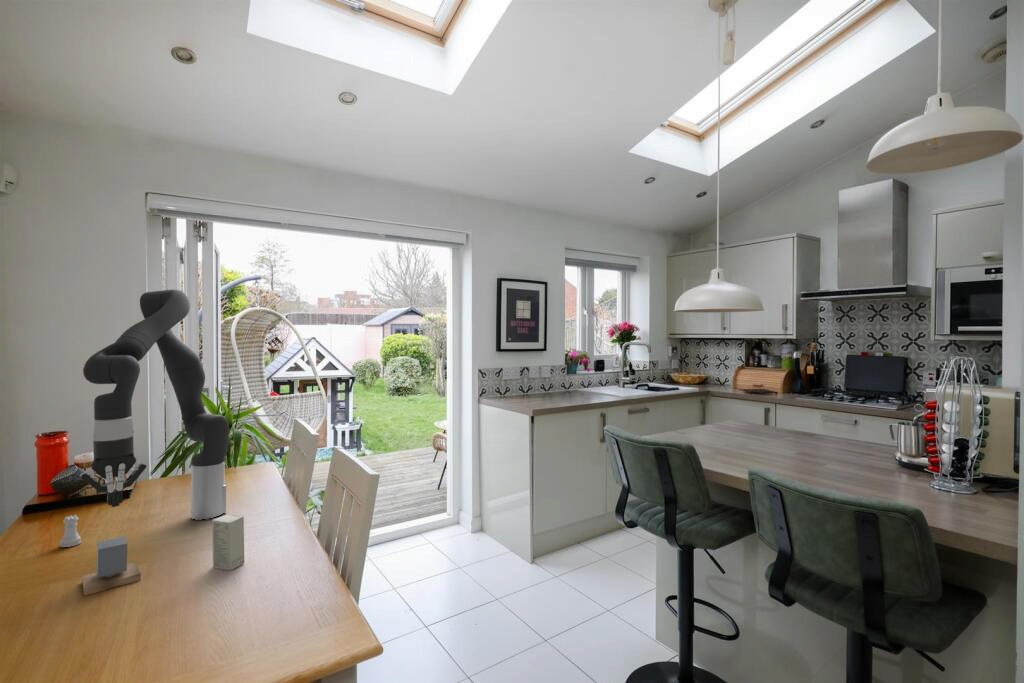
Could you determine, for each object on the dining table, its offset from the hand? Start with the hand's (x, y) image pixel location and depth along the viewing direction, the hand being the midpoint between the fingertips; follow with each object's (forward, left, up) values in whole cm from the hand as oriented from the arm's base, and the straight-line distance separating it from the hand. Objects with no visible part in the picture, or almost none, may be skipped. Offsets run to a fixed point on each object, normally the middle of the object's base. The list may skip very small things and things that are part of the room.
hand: (114, 505), depth 116 cm
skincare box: (-21, +15, -17) cm, 31 cm away
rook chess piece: (+7, -29, -17) cm, 34 cm away
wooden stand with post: (+1, +5, -17) cm, 17 cm away
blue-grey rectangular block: (+1, +5, -14) cm, 15 cm away
